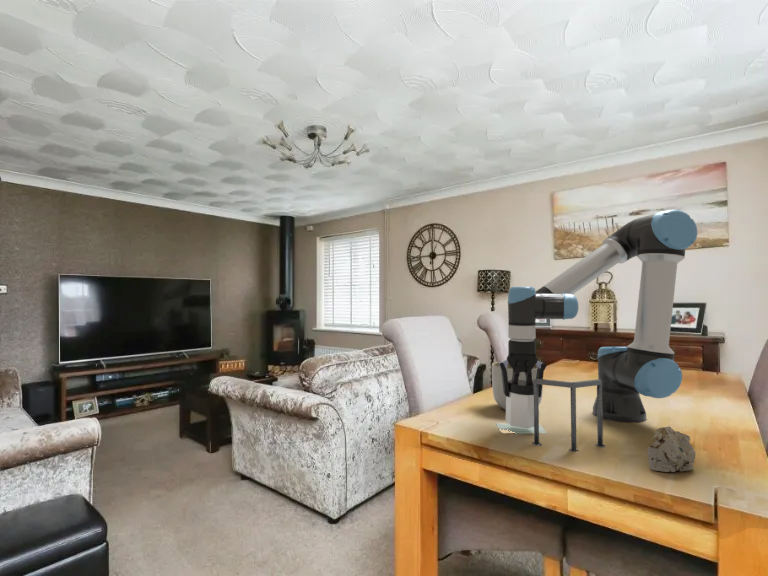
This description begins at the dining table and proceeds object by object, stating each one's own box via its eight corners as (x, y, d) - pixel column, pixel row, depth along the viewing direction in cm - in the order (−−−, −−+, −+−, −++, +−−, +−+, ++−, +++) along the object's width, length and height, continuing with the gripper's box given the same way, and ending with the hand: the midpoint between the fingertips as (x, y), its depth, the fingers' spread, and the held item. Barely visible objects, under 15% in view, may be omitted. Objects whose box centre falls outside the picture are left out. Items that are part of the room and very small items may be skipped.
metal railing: (603, 446, 106) (602, 378, 106) (614, 455, 99) (613, 384, 100) (530, 444, 107) (529, 377, 108) (537, 453, 101) (536, 383, 101)
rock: (675, 471, 84) (671, 422, 88) (644, 468, 89) (642, 422, 94) (711, 483, 88) (705, 435, 92) (679, 479, 93) (675, 434, 98)
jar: (521, 430, 111) (523, 387, 111) (499, 421, 118) (501, 381, 118) (543, 425, 116) (544, 384, 116) (520, 417, 123) (521, 378, 122)
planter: (547, 406, 143) (547, 363, 143) (537, 419, 129) (537, 371, 129) (500, 399, 152) (499, 359, 153) (485, 411, 138) (485, 366, 138)
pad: (539, 425, 123) (539, 424, 123) (553, 441, 110) (553, 439, 110) (495, 424, 124) (495, 423, 124) (504, 439, 111) (504, 438, 111)
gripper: (546, 338, 120) (546, 417, 120) (491, 338, 122) (492, 416, 121) (554, 341, 113) (554, 426, 112) (496, 341, 114) (496, 424, 114)
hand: (522, 420), depth 117 cm, fingers open, 3 cm apart
